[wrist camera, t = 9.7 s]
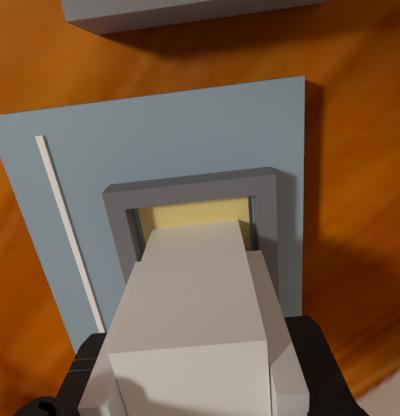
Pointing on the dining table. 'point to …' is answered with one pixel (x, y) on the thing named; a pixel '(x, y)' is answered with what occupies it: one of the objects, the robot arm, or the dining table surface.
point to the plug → (193, 328)
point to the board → (157, 185)
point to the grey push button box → (161, 12)
